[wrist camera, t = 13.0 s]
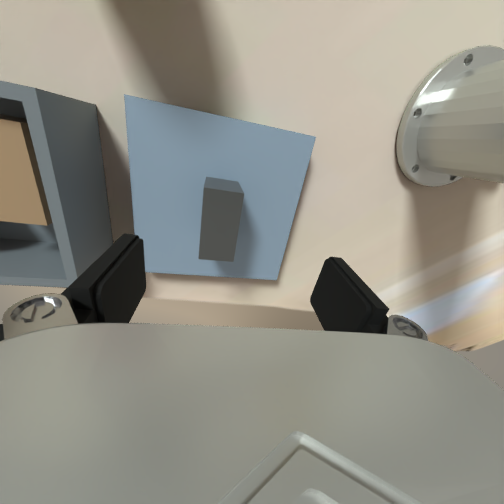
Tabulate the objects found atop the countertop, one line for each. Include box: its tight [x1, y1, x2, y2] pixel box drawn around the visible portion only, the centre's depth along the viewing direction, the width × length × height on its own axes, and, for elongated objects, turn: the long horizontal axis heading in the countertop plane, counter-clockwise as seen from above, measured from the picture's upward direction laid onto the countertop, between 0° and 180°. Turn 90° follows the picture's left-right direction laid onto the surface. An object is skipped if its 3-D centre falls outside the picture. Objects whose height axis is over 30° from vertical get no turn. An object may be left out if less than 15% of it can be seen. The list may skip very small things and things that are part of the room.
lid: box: [124, 94, 316, 280], centre depth 20 cm, size 16×16×8 cm
